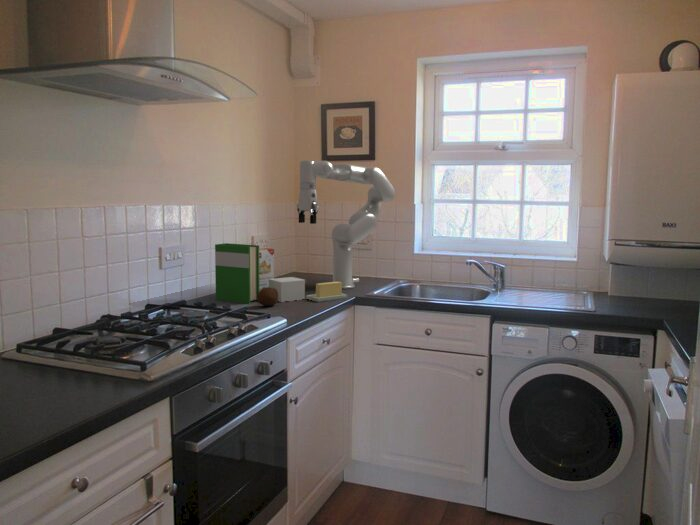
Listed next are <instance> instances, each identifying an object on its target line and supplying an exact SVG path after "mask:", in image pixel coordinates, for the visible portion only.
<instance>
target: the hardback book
mask: <svg viewBox="0 0 700 525" xmlns="http://www.w3.org/2000/svg"><path fill="white" fill-rule="evenodd" d="M259 249H260V245H255V244H243V243H242V244H240V243H227V242H226V243H217V244H214V254H215V256H214V259H215V260H214V261H215V262H214V264H215V265H214V266H215V272H214V273H215V274H214V275H215V300H217V301H224V302H234V303H241V304H248V303H250V304H251V302H252V301H253V300H257V295H258V293H259Z"/></svg>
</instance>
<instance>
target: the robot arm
mask: <svg viewBox="0 0 700 525" xmlns="http://www.w3.org/2000/svg"><path fill="white" fill-rule="evenodd" d="M316 178H318V179H319V178H320V179H327V180H335V181H340V182H349V183H352V184H353V183H355V184H361V185H372V186H371V187H370V188H369V190H368V192H367V201H366V203H365V204H364V205H363V206H362V207H361V208H360V209H359V210H357V211H356V212H355V213H353V214H352V215H350V217H349V220H348V223H339V224H336V225H334V227H333V228H332V231H331V241H332V248H333V249H332V252H333V253H332V255H333V257H332V282H342V289H353V288H355V287H356V286H355V283H359V282H360V278H359V277H357V278H354V277H352V275H353V248H352V247H353V246H352V245H356V244H358V243H360V242H361V241H363V240H364V239H366V237H368V236H369V235H370V234H371V233H373V231H375V229H376V227H377V223H378V219H377V217H378V216H379V215H380V213H381V208H382V203H388V202H389V203H390V202H391V201H392V200H393V199H394V198H395V195H396V192H395V191H396V190H395V188H394V186H393V185H392V183H391V182H390V181H389V178H388V177H387V176H386V175H385V173H384V172H383V171H382V170H381V169H380V168H378V167H376V166H370V167H368V166H367V167H366V166H360V165H355V164H349V163H338V164H336V163H335V164H333V163H331V162H329V161H328V160H316V161H314V160H301V161H300V163H299V193H298V203H297V204H296V208H297V209H296V210H297V214H298V223H301V224H302V223H306V215H305V213H306V212H310V213H309V214H310V215H309V223H310V224H311V225H313V224H314V225H316V224H317V215H318V212H319V208H320V206H319V205H318V194H317V193H318V192H317V190H316V189H317V188H316V185H317V184H316V182H317V180H316Z"/></svg>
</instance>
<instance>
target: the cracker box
mask: <svg viewBox="0 0 700 525" xmlns="http://www.w3.org/2000/svg"><path fill="white" fill-rule="evenodd" d="M274 266H275V249H274V248H270V247H268V248H267V247H264V248H259V292H260V291H261V290H262V289H264V288H267V287H269V279H275V277H274V275H275V274H274V272H275V271H274V270H275V267H274Z"/></svg>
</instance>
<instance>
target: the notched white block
mask: <svg viewBox="0 0 700 525" xmlns="http://www.w3.org/2000/svg"><path fill="white" fill-rule="evenodd" d="M306 284H307V279H304V278H299V277H296V276H287V277H279V278H278V277H277V278H276V277H274V279H269V287H270V288H275V289H276V290H277V292H278V300H277V302H278V301H279V303H286V302H285V301H289V302H295V301H294V300H297V301H303V300H302V299H305V298H306V296H305V295H306V294H305V293H306V291H305V290H306V286H305V285H306ZM305 300H306V299H305Z"/></svg>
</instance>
